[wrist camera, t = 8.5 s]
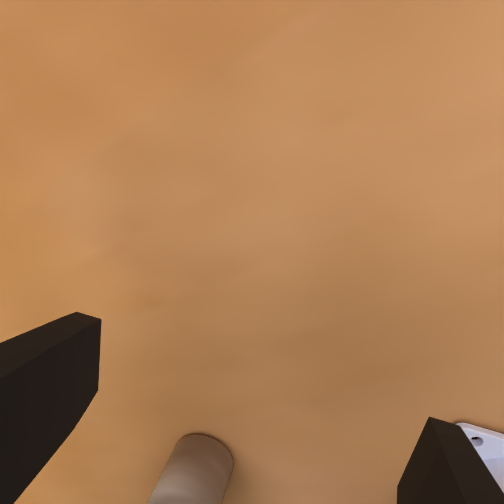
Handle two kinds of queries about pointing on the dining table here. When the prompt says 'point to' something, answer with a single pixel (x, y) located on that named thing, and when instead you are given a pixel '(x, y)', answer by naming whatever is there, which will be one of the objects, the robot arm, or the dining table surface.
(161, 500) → the sliding frame
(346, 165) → the dining table surface
